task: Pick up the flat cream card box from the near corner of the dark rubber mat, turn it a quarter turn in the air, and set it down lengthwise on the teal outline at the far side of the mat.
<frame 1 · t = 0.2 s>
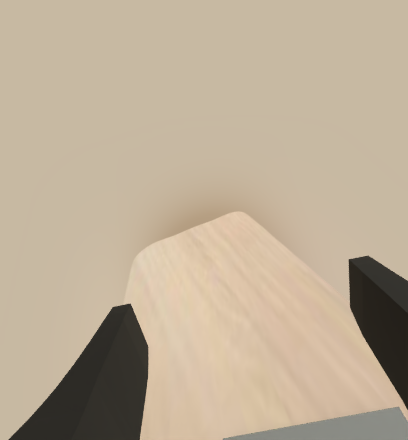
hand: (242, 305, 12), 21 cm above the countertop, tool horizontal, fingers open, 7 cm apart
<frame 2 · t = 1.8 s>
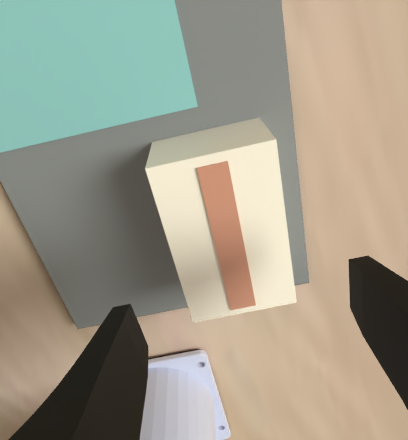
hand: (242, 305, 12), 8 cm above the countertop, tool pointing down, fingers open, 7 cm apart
mat: (142, 140, 18), on the countertop
card box: (221, 206, 19), point 1 cm above the countertop, touching mat
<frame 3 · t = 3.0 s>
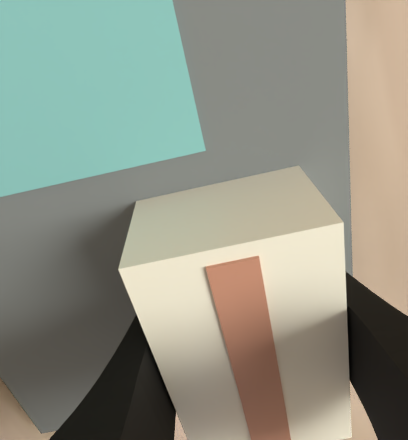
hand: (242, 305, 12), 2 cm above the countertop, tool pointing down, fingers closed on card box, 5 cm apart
mat: (123, 196, 12), on the countertop
card box: (238, 285, 13), point 1 cm above the countertop, touching gripper, mat
when the fingers open (3 cm above the countertop, at t = 6.7 s): card box drops 1 cm, resting on mat.
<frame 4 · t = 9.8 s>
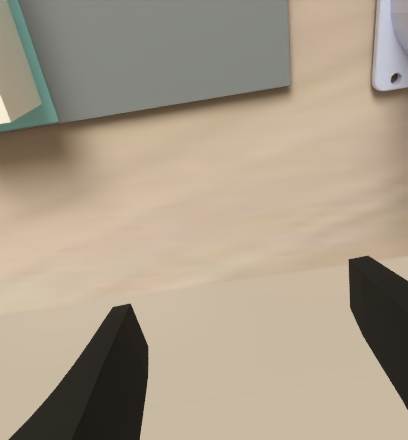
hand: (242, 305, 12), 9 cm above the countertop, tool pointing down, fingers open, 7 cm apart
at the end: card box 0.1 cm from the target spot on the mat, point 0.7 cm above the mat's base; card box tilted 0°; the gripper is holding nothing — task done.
